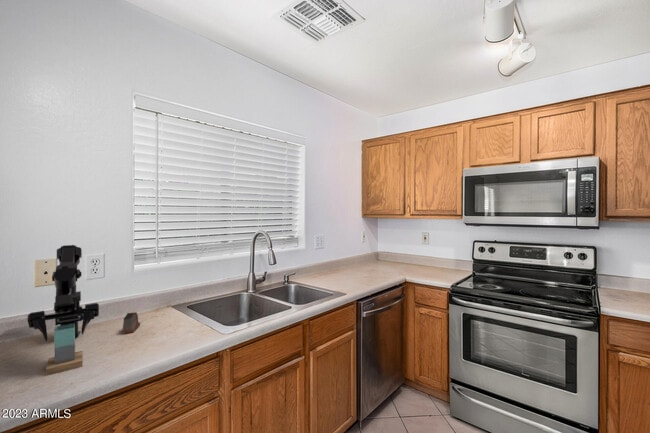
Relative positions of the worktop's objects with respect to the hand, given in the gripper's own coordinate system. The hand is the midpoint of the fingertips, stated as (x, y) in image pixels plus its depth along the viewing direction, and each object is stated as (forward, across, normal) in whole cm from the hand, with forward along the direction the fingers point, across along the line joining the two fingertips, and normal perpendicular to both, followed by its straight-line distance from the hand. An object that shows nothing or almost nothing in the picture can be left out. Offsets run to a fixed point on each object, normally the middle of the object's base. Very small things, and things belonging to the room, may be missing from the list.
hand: (64, 337), depth 102 cm
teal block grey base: (+5, 0, +6) cm, 8 cm away
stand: (+6, 0, +7) cm, 10 cm away
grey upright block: (-9, +21, +24) cm, 33 cm away
